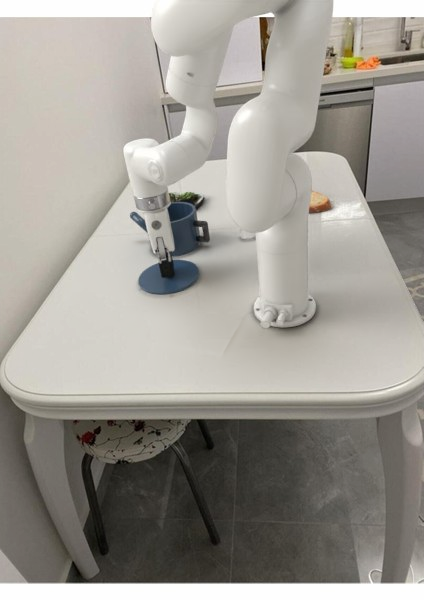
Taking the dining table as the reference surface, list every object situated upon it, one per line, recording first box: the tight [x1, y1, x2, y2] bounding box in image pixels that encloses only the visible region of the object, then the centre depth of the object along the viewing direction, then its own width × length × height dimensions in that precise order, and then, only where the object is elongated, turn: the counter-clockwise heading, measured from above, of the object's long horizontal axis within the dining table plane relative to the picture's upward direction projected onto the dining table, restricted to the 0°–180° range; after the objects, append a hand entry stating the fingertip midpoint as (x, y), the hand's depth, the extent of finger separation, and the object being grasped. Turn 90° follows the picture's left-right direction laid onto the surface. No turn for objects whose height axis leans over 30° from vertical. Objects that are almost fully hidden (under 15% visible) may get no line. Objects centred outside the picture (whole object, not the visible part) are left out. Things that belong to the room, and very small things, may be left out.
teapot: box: [143, 202, 202, 258], centre depth 117 cm, size 14×14×10 cm
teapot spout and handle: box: [129, 211, 211, 243], centre depth 117 cm, size 2×23×8 cm, turn 67°
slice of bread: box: [309, 190, 333, 214], centre depth 132 cm, size 18×18×4 cm
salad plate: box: [169, 191, 205, 210], centre depth 142 cm, size 19×18×5 cm
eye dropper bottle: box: [239, 228, 256, 240], centre depth 115 cm, size 4×6×12 cm
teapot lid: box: [137, 251, 200, 295], centre depth 104 cm, size 15×15×7 cm
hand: (167, 271), depth 105 cm, fingers closed on teapot lid, 3 cm apart
